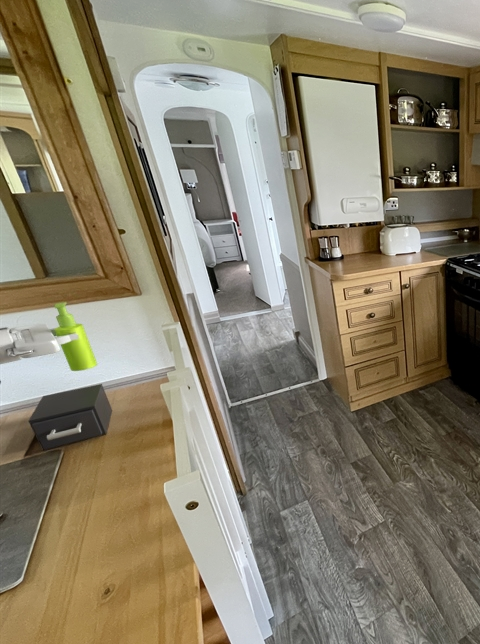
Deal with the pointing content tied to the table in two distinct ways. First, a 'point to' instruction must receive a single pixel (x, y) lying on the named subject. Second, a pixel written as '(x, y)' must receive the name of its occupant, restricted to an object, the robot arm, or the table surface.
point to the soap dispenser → (74, 341)
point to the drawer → (67, 429)
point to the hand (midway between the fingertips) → (75, 332)
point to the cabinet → (74, 406)
